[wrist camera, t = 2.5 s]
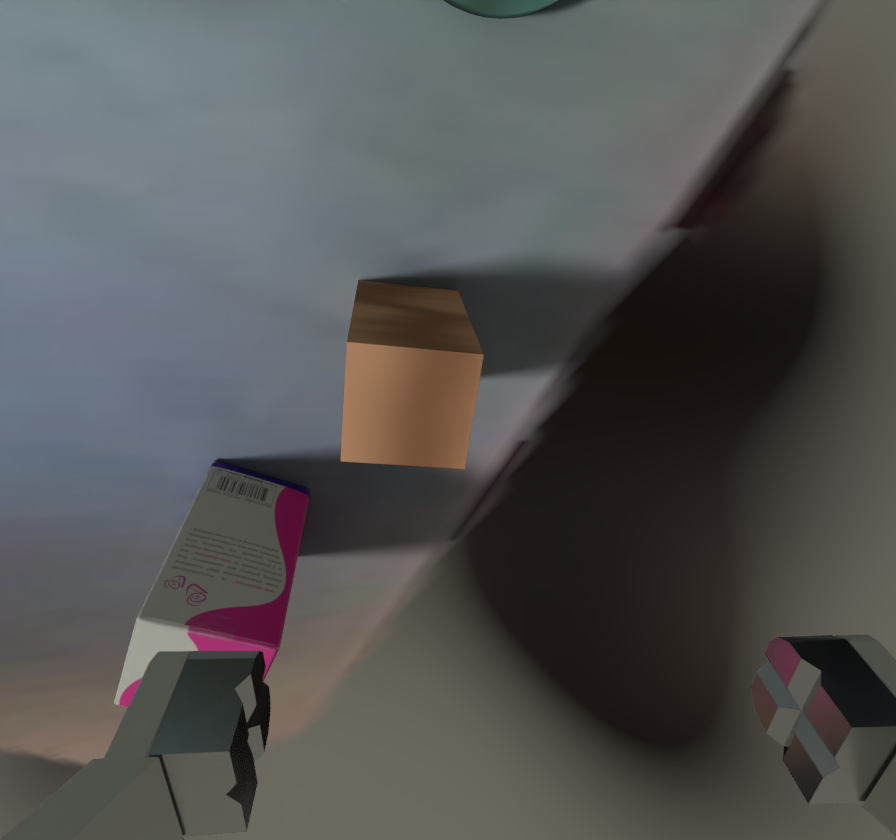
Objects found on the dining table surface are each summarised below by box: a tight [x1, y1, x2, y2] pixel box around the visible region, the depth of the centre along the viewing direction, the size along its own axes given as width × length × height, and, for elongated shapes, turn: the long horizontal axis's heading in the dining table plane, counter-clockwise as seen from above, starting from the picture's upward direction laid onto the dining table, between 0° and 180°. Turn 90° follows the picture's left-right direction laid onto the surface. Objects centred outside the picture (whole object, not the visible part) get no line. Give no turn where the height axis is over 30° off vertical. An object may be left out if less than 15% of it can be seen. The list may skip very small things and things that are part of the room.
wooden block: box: [341, 280, 484, 469], centre depth 26 cm, size 5×5×9 cm
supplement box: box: [114, 460, 310, 706], centre depth 29 cm, size 6×6×12 cm
